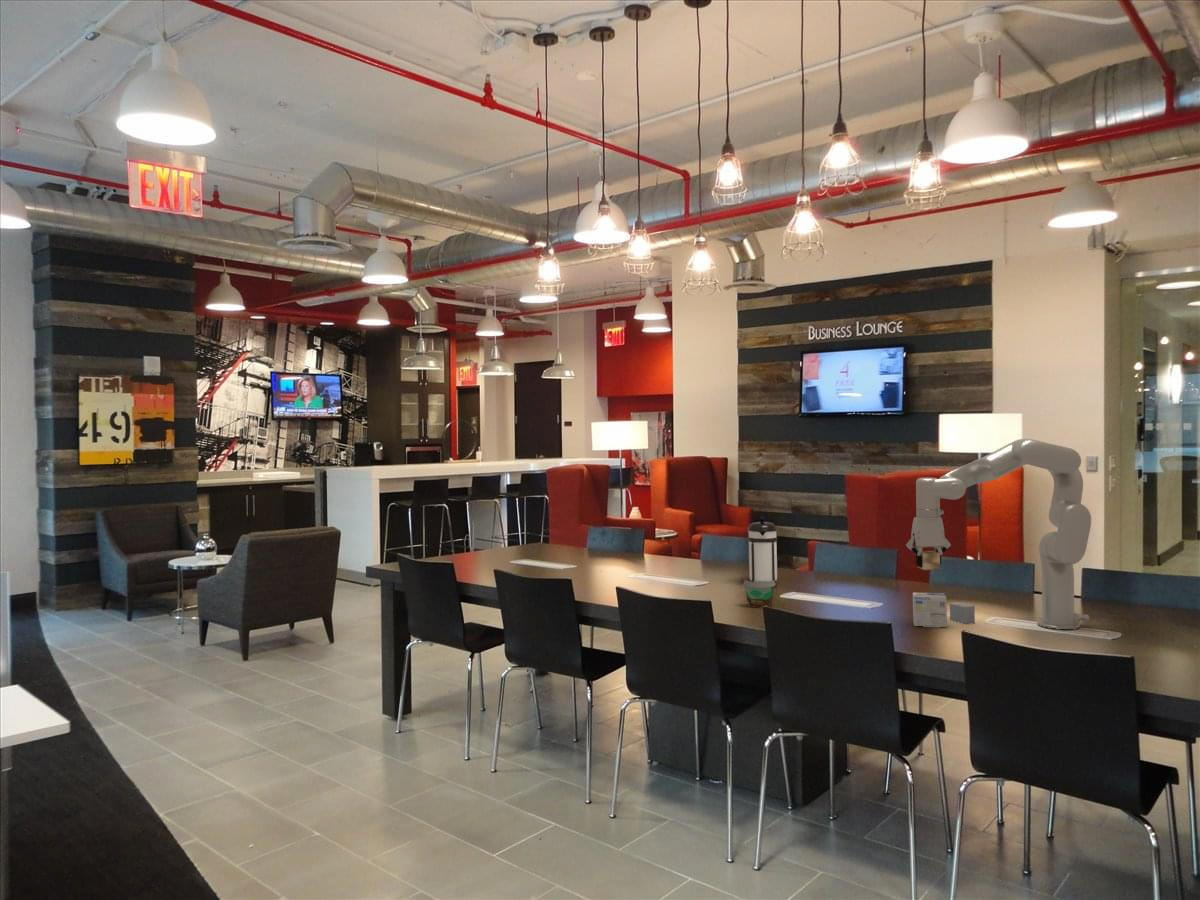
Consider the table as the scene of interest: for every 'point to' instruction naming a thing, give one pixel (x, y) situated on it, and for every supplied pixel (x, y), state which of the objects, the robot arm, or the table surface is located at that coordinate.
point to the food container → (759, 593)
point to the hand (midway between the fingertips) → (928, 566)
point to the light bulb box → (930, 609)
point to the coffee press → (762, 551)
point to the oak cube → (930, 560)
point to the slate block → (962, 613)
